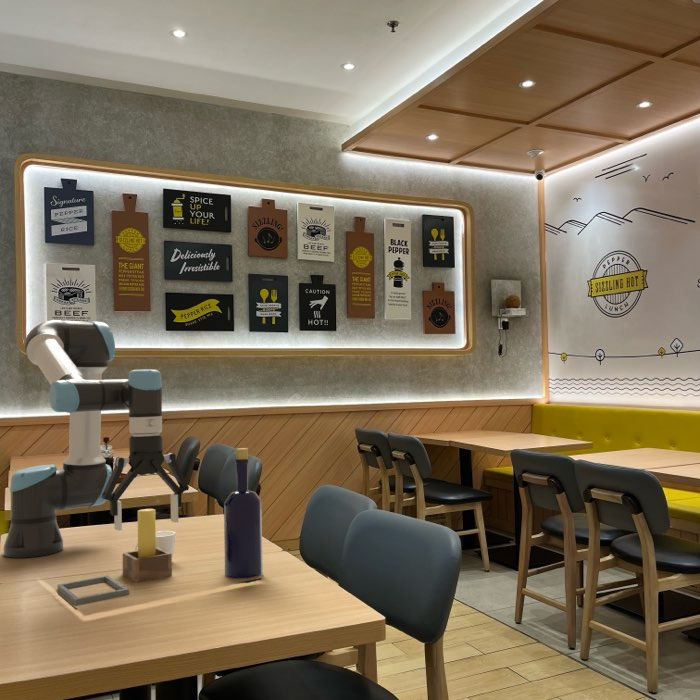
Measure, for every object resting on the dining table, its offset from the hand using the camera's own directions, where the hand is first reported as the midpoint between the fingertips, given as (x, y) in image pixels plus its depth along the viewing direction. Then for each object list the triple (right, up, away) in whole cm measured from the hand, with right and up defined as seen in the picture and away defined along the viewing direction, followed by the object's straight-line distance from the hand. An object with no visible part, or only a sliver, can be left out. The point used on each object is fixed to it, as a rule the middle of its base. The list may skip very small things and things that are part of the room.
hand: (147, 525), depth 164 cm
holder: (0, -13, 0) cm, 13 cm away
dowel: (0, -12, 0) cm, 12 cm away
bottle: (+23, -12, -1) cm, 26 cm away
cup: (-1, -13, +11) cm, 17 cm away
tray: (-8, -12, -13) cm, 19 cm away
